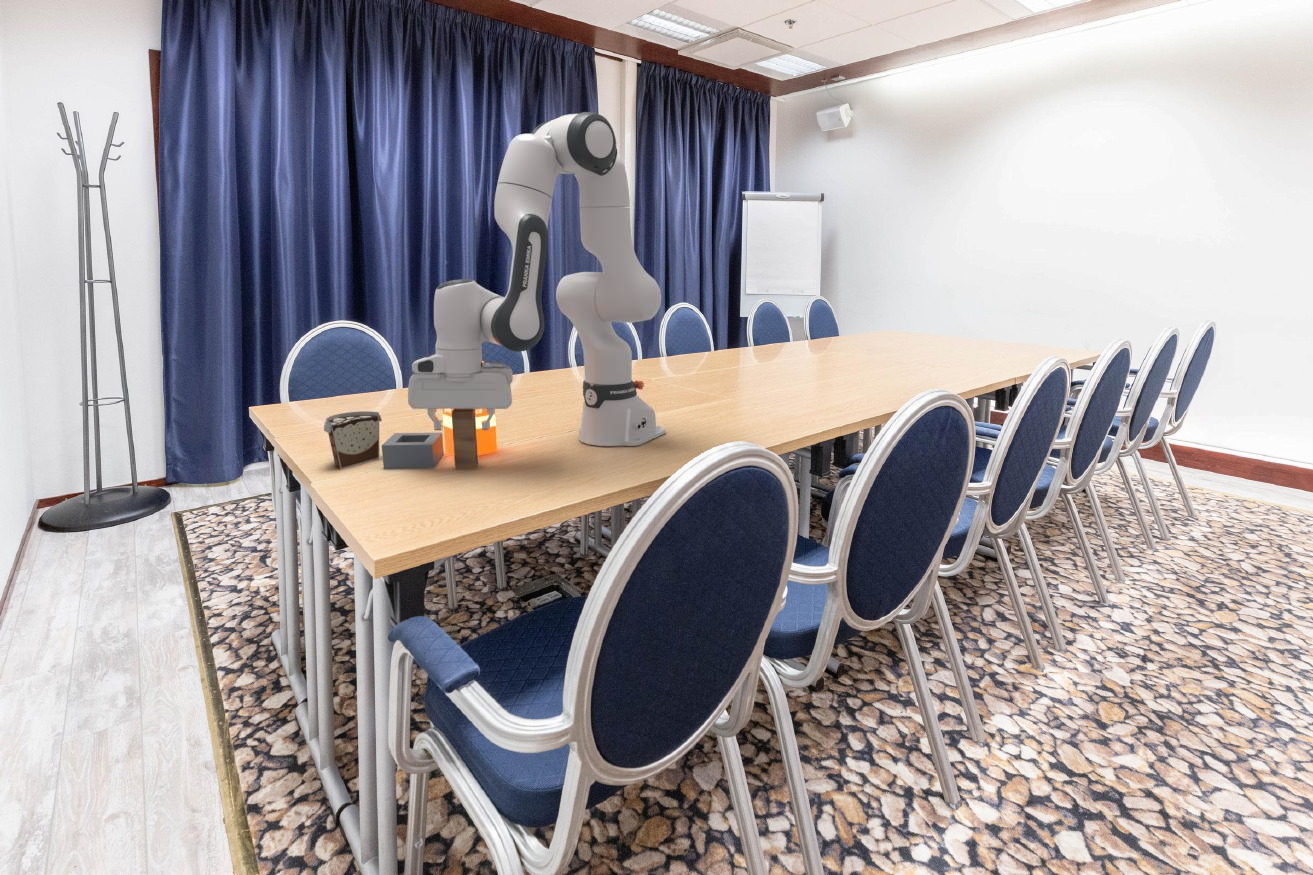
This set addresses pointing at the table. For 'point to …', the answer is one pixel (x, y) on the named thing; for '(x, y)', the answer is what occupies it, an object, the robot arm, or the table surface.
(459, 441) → the peg
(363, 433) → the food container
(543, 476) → the table surface
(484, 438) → the orange juice
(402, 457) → the socket
